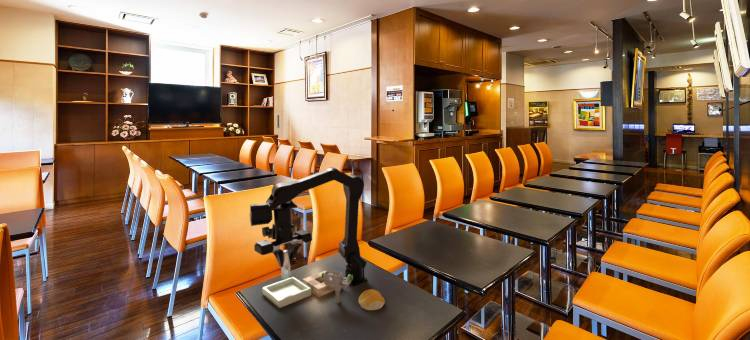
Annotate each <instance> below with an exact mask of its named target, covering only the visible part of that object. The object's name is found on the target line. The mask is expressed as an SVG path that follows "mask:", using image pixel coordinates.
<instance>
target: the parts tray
mask: <svg viewBox="0 0 750 340" xmlns="http://www.w3.org/2000/svg"><path fill="white" fill-rule="evenodd" d="M262 295H263V296H264V297H265V298H267V300H268V301H270V302H271V303H273V304H274V305H275V306H276V307H277V308H279V309H281V308H283V307H285V306H287V305H290V304H294V303H296V302H298V301H301V300H303V299H305V298H308V297H310V296H312V292H311V288H310V287H308V286H307V285H305V284H304V283H303V281H301V280H300V279H298V278H296V277H294V276H292V277H290V278H287V279H283V280H282V279H281V280H280V281H277V282H274V283H271V284H268V285H266V286H263V287H262Z"/></svg>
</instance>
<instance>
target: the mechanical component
mask: <svg viewBox="0 0 750 340" xmlns="http://www.w3.org/2000/svg"><path fill="white" fill-rule="evenodd" d="M325 271H326V272H325V273H322V278H323V279H324V284H325V285H327V286H334V290H335V291H334V292H335V303H336V304H340V303H341V291H342V290H343V288H348V287H350V285H351V280H353V275H351V274H348V277H345V276H344V275H343V273H342V272H341V271H332V270H331V271H330V270H325ZM330 277H331V278H332V279H331V278H330ZM341 287H342V288H341Z"/></svg>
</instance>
